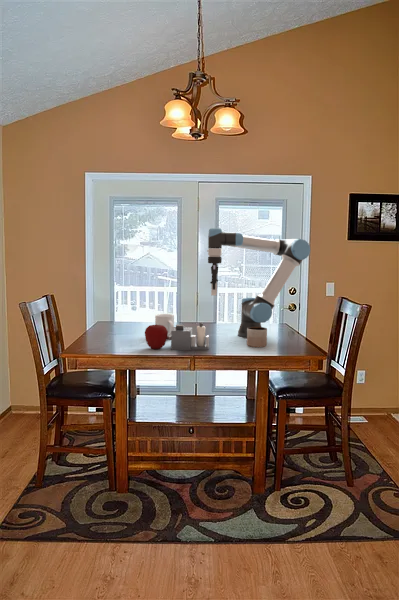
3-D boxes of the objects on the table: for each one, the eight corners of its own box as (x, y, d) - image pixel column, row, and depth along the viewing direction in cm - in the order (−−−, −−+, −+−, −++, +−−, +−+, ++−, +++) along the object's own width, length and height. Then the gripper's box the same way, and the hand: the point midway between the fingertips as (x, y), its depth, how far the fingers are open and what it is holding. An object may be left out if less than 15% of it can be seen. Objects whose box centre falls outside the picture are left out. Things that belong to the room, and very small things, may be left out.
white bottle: (205, 344, 254) (205, 322, 252) (204, 346, 249) (205, 323, 248) (196, 344, 254) (197, 322, 253) (196, 346, 250) (196, 323, 248)
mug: (180, 339, 276) (181, 316, 274) (164, 340, 270) (164, 318, 268) (168, 334, 288) (168, 313, 287) (151, 336, 282) (151, 314, 281)
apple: (148, 351, 241) (148, 325, 240) (142, 347, 252) (141, 322, 250) (171, 349, 246) (170, 324, 245) (163, 345, 257) (163, 321, 255)
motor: (208, 346, 257) (209, 324, 256) (208, 350, 246) (208, 327, 244) (168, 344, 259) (168, 323, 257) (165, 349, 247) (165, 326, 245)
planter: (261, 348, 254) (262, 330, 252) (243, 346, 259) (243, 328, 258) (269, 345, 263) (270, 327, 262) (252, 342, 268) (252, 325, 267)
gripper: (208, 255, 278) (208, 291, 281) (207, 256, 254) (206, 296, 256) (221, 255, 278) (221, 292, 280) (221, 256, 253) (220, 296, 256)
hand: (214, 294), depth 268 cm, fingers open, 13 cm apart
